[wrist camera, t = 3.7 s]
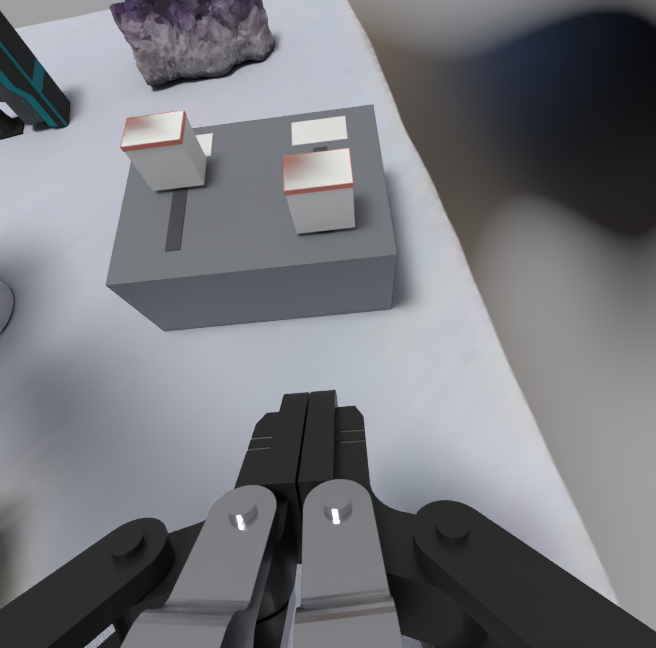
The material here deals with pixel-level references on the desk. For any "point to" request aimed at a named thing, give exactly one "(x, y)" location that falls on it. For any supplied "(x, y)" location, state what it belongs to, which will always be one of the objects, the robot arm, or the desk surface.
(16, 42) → the surveillance camera
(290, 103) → the desk surface
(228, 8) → the geode
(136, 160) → the switch
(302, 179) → the switch
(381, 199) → the power box
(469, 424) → the desk surface
